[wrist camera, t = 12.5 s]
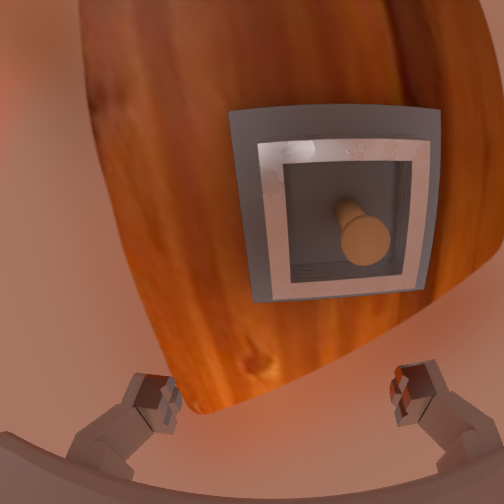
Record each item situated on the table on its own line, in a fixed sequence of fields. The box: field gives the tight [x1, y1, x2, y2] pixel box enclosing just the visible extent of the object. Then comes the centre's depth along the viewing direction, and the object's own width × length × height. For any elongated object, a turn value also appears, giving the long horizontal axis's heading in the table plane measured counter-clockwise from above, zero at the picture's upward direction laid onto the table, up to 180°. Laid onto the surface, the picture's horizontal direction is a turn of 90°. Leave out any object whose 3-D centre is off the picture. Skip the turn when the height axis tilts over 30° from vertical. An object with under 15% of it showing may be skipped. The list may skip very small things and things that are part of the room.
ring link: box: [257, 135, 430, 300], centre depth 23 cm, size 13×13×3 cm
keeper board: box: [228, 104, 441, 303], centre depth 22 cm, size 18×18×8 cm
